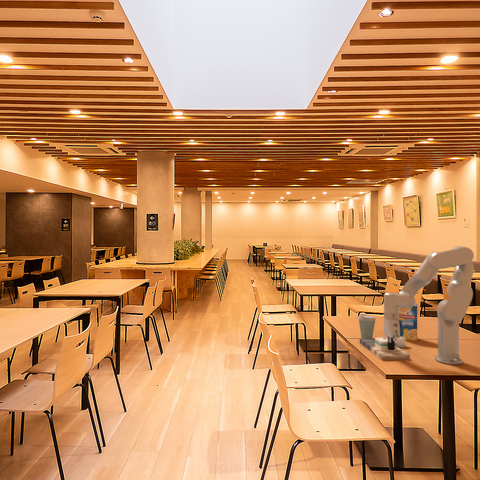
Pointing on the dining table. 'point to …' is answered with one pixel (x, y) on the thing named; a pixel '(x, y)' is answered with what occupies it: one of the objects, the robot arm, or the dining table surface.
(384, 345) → the carton
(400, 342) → the white domed cylinder
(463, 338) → the dining table surface
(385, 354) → the beige flat board
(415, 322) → the beverage box
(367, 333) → the disposable coffee cup
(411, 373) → the dining table surface
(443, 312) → the robot arm
